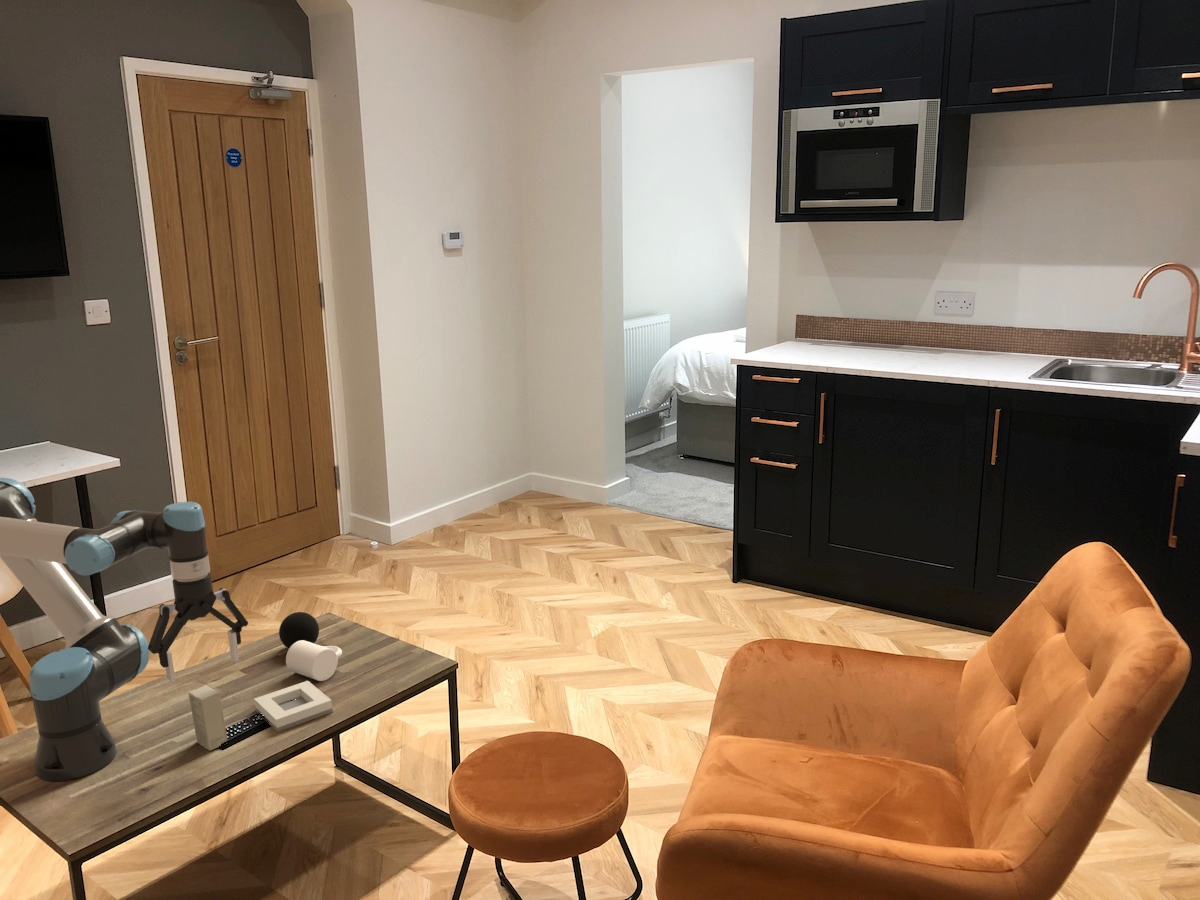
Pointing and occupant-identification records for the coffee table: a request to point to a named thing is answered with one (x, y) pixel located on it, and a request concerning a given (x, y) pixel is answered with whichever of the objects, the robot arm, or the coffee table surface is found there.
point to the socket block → (293, 705)
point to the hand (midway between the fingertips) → (203, 669)
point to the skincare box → (208, 717)
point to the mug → (313, 659)
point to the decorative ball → (298, 629)
